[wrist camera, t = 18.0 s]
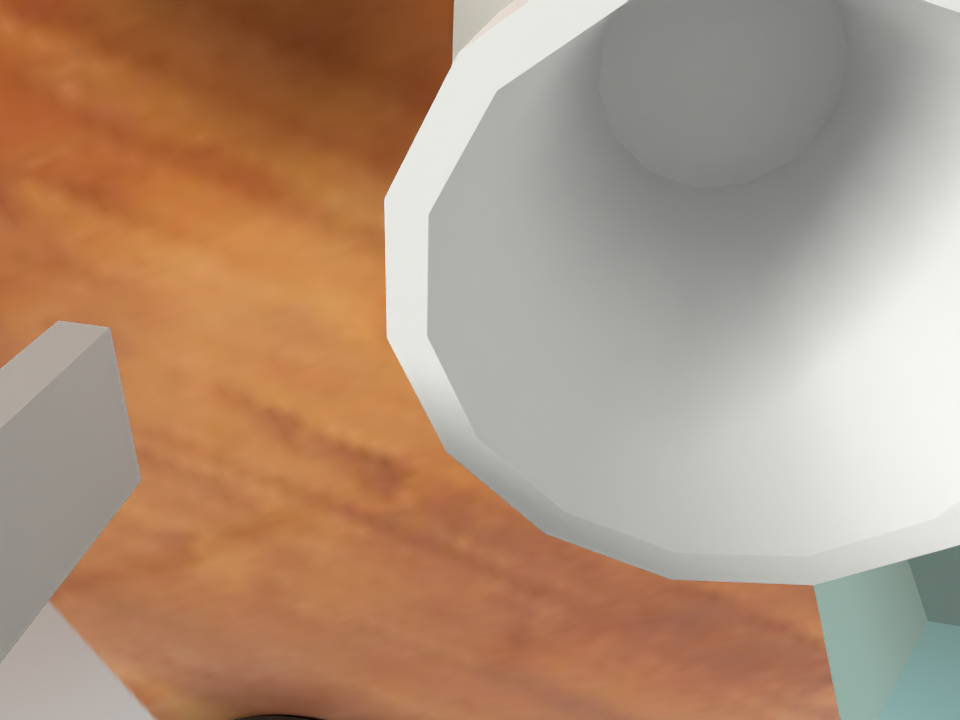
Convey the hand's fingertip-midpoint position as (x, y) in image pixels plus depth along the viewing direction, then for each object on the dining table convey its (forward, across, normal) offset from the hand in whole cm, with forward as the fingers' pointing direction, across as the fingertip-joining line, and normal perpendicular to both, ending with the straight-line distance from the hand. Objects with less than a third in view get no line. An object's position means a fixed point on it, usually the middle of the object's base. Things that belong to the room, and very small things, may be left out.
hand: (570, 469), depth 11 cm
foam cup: (+14, -3, -3) cm, 14 cm away
